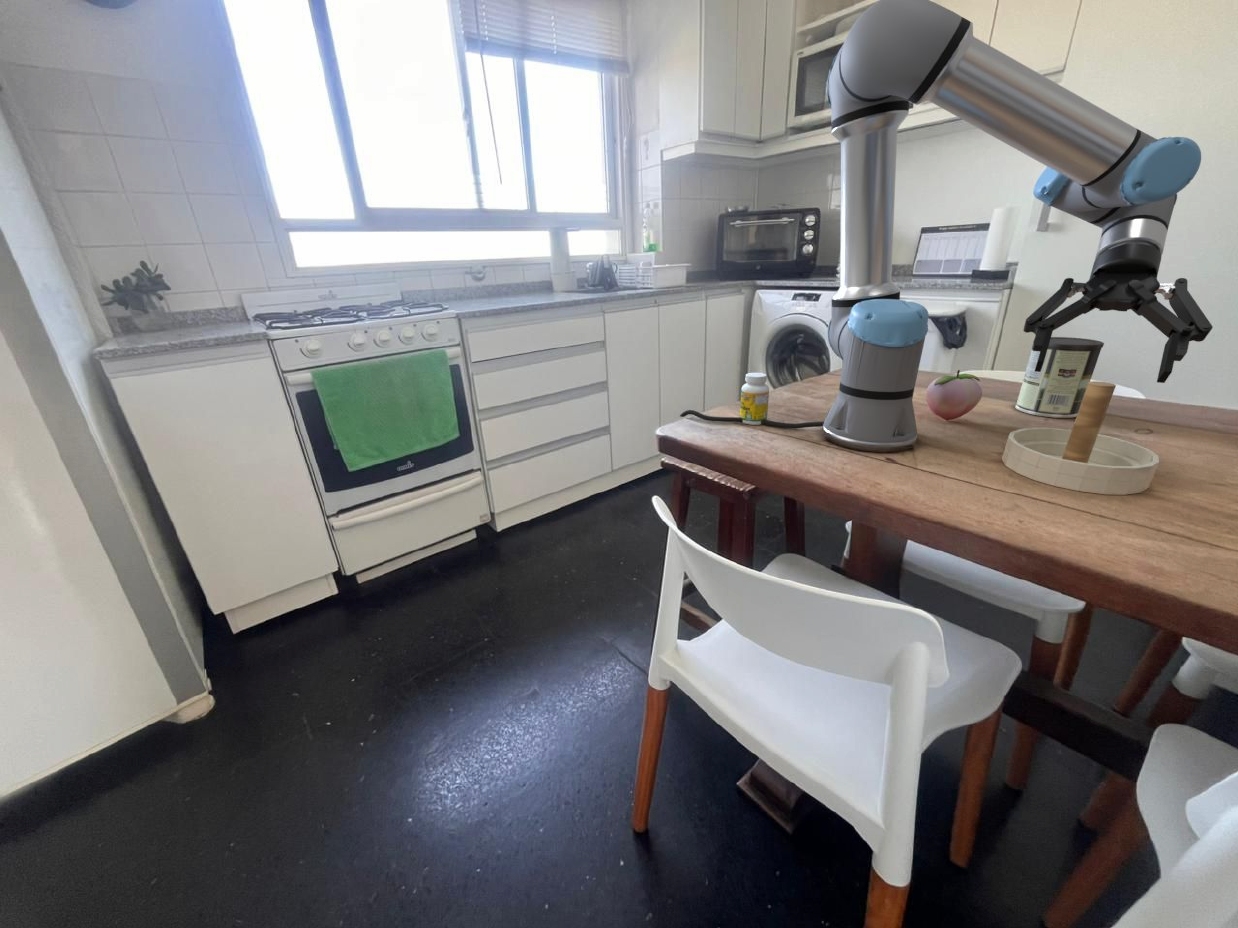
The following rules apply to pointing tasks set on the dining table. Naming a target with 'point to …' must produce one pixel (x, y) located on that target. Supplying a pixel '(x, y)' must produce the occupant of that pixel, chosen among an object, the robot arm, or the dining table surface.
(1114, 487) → the bowl
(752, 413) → the supplement bottle
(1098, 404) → the muddler
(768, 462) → the dining table surface
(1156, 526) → the dining table surface
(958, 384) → the decorative fruit
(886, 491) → the dining table surface
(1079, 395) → the coffee can
